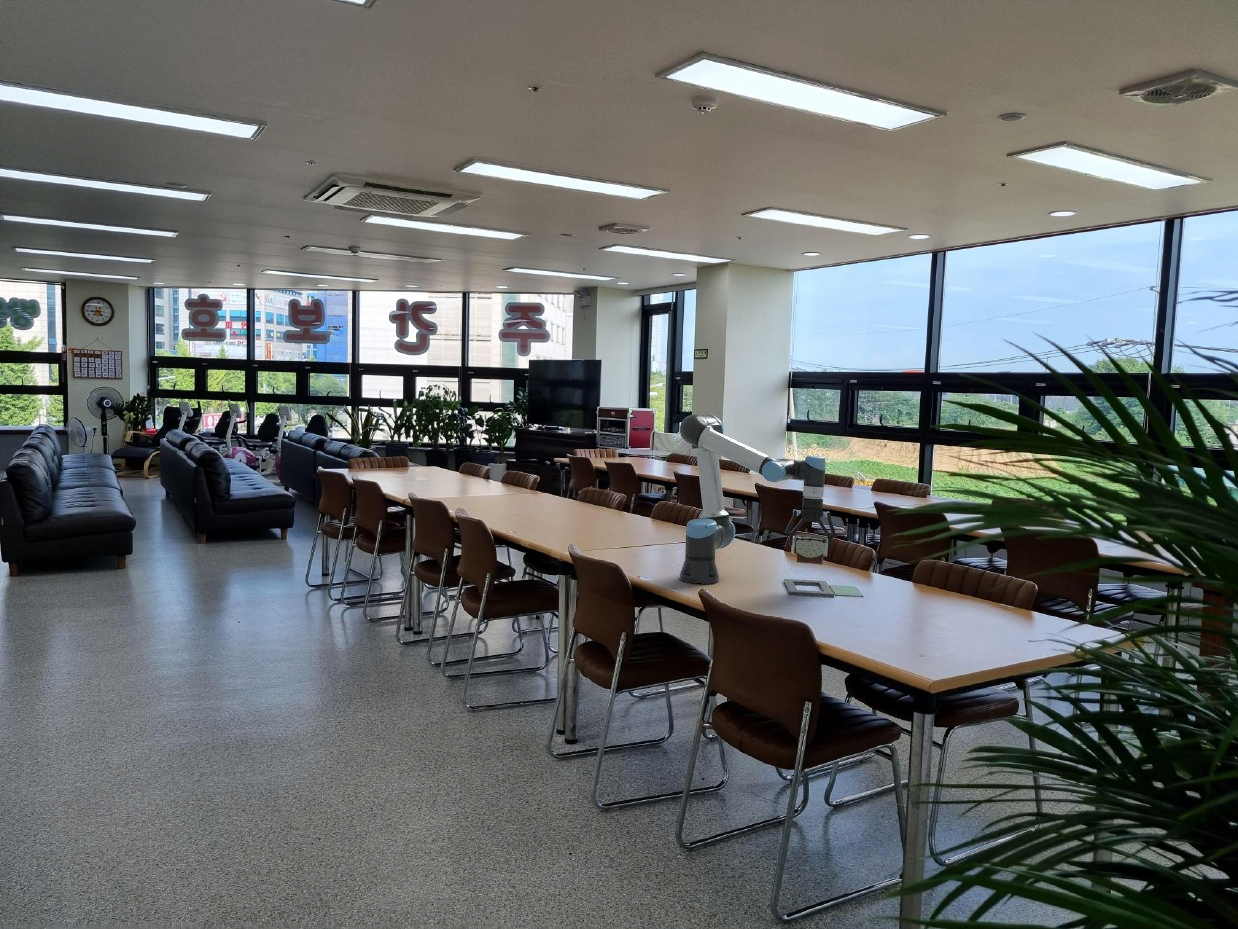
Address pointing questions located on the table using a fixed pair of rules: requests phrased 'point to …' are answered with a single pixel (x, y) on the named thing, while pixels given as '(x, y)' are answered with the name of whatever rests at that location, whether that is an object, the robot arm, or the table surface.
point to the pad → (845, 590)
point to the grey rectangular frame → (793, 591)
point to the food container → (810, 548)
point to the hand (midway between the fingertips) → (808, 554)
